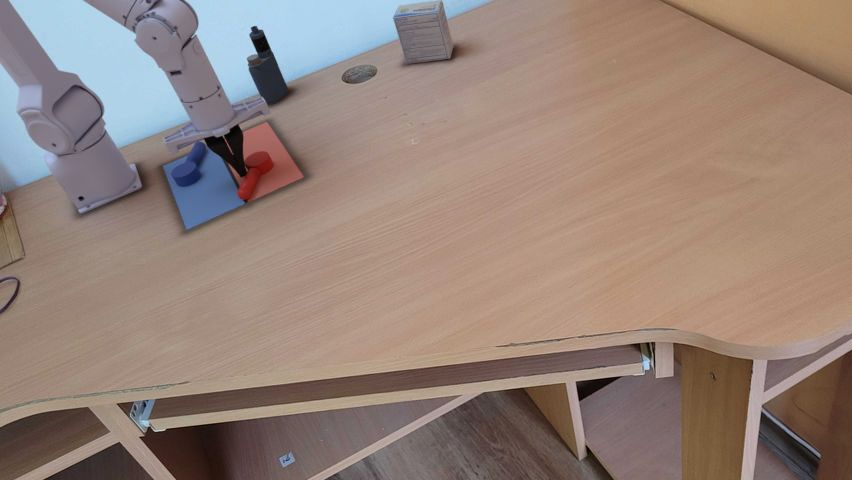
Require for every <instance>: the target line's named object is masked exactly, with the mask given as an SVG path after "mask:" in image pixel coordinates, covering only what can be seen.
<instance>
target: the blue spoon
mask: <svg viewBox="0 0 852 480" xmlns="http://www.w3.org/2000/svg"><path fill="white" fill-rule="evenodd" d="M206 147H207V144H206V143H205V142H203V141H199V142H196V143H194V144H193V146H192V148H191V150H190V151H189V153H188V155H189V156H188V155H187V156H188V157H187V159H186V161H185V163H183V164H180V165H178V166H177V167H175V168H174V169H173V170H172V172H171V175H172V177H173V179H174V180H175V182H176V184H177V185H178V186H180V187H186V186H190V185H192V184H194V183H196V182H197V181H198V180H199V179H200V178H201V173H200V171H199V169H198V167H197V166H198V164H199V162H200V160H201V158H202V156H203V154H204V152H205V150H206Z"/></svg>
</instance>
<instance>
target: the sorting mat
mask: <svg viewBox="0 0 852 480" xmlns="http://www.w3.org/2000/svg"><path fill="white" fill-rule="evenodd" d="M242 132H243V137H244V140H243V157H244V161H245V159H246V158H247V157H248V156H249V155H251V154H253V153H255V152H259V151H265V152H267V153H269V155H270V157H271V159H272V162H273V164H274V165H273V168H272V169H271V170H270V171H269V172H267V173H265V174H263V175H260V177H259V179H258V181H257V184H256V186H255V188H254V190H253V192H252V194H251V196H250V198H249V199H247V200H242V199H240V198H239V197H238V194H237V193H238V190H239V188H240V186H241V184H242V182H243V180H244V178H245V176H244V177H240V176H239V174H238V173H237V172H236V171H235V169H234V168H233V167H232V166H231V165H230V164H229V163H227V162H226V161H225V160H224V159H223V158H221V157H220V156H219V155H217V154H215V153H214V152H212V151H211V150H210V149H209V148H208V146H206V150H205V152H204V154H203V156H202V158H201V160H200V162H199V164H198V166H197V167H198V169H199V171H200V173H201V178H200V179H199V180H198V181H197V182H196V183H194V184H192V185H190V186H186V187H180V186H178V185H177V184H176V182H175V180H174V179H173V177H172V175H171V172H172V170H173V169H174V168H175V167H177V166H178V165H180V164H183V163H185V161H186V159H187V157H188V156H189V154H188V155H185V156H183V157H181V158H178V159H176V160H173V161H171V162H169V163H167V164H164V165H162V168H163V171H164V174H165V176H166V178H167V181H168V184H169V187H170V189H171V192H172V194H173V197H174V200H175V203H176V205H177V208H178V210H179V213H180V215H181V218H182V221H183V224H184V226H185V230H187V231H189V230H190V229H192V228H195V227H197V226H200V225H201V224H204V223H205V222H208V221H210V220H213V219H215V218H217V217H220V216H221V215H225V214H226V213H228V212H230V211H232V210H234V209H237V208H239V207H241V206H243V205H246V204H248V203H250V202H253V201H255V200H257V199H259V198H261V197H263V196H265V195H268V194H270V193H272V192H274V191H277V190H279V189H281V188H283V187H286V186H287V185H290V184H292V183H294V182H296V181H299V180H301V179H303V178H305V177H304V174H302V171H301V170H300V169H299V167H298V166H297V164H296V163H295V161H294V159H293V158H292V157H291V155H290V154H289V152H288V151H287V149H286V148H285V146H284V144H283V143H282V142H281V140H280V138H279V137H278V136H277V134H276V133H275V131H274V129H273V128H272V127H271V125H270V124H269V122H268V121H265V122H262V123H260V124H258V125H256V126H253V127H251V128H249V129H247V130H244V131H242ZM224 139H225V138H224ZM225 141H226V139H225ZM226 143H227V141H226ZM227 145H228V143H227ZM228 147H229V145H228ZM229 149H230V147H229ZM230 151H231V149H230ZM231 153H232V151H231ZM232 154H233V153H232ZM245 167H246V166H245ZM246 171H247V172H248V170H247V168H246Z"/></svg>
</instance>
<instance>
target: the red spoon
mask: <svg viewBox="0 0 852 480" xmlns="http://www.w3.org/2000/svg"><path fill="white" fill-rule="evenodd" d="M244 163H245V166H246V168H247V170H248V172H247V174H246V176H245V178H244V180H243V182H242V184H241V186H240V188H239V190H238V193H237V194H238V197H239V198H240V199H242V200H247V199H249V198H250V196H251V194H252V192H253V190H254V188H255V186H256V184H257V181H258V179H259V177H260V175H263V174H265V173H267V172H269V171H270V170H271V169H272V168H273V165H274V164H273V162H272V159H271V157H270V155H269V153H267V152H265V151H259V152H255V153H253V154H251V155H249V156H248V157H247V158H246V159H245V161H244Z"/></svg>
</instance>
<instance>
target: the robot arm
mask: <svg viewBox="0 0 852 480" xmlns="http://www.w3.org/2000/svg"><path fill="white" fill-rule="evenodd" d="M82 1H83V2H84V3H86V4H88V5H89V6H91V7H93V8H94V9H96V10H97V11H98V12H100V13H102V14H103V15H105V16H106V17H108V18H110V19H112V20H113V21H114V22H116V23H118V24H119V25H120V26H122V27H124V28H125V29H127V30H129V31H130V32H132V33H133V34H135V38H134V39H133V41H134V42H135V45H137V46H138V48H139V49H140V50H141V51H143V52H144V53H145V54H147V55H148V56H150V57H151V58H152V59H153V60H154V62H155V63H156V65H157V67H158V68H159V69H161V71H163V72H164V75H165V76H166V78H167V80H168V81H169V83H170V86H171V87H172V89H173V90H174V92H175V94H176V96H177V98H178V99H179V102H180V103H181V106H182V107H183V109H184V110H185V112H186V114H187V116H188V118H189V120H190V122H189V123H187V124H185V125H183V126H182V127H180V128H179V129H177V130H175V131H173V132H172V133H170V134H168V135H166V136H163V137H162V140H163V143H164V145H165V146H166V148H167V150H168V152H169V153H170V155H171V156H173V155H176V154H178V153H179V152H180V150H182V149H184V148H187V147H189V146H191V145H194V144H195V143H196V142H199V141H200V142H202V141H204V144H205V145H206V147H208V148H209V149H210V150H211V151H212V152H214V153H215V154H217V155H219V156H220V157H221V158H223V159H224V160H225V161H226V162H227V163H229V164H230V165H231V166H232V167H233V168H234V169H235V171H236V172H237V173H238V174H239V176H240V177H244V176H246V174H247V171H246V167H245V163H244V157H243V140H244V137H243V132H244V131H243V130H242V129H241V127H240V125H242V124H244V123H246V122H249V121H251V120H253V119H256V118H258V117H260V116H264V117H265V116H268V115H270V114H272V112H271V110H270V108H269V104H267V103H266V101H265V100H264V98H263V97H261V96H259V97H256V98H255V99H251V100H247V101H242V102H239V103H235V104H232V103H231V102H230V99H229V98H228V95H227V93H226V92H225V90H224V87H223V85H222V83H221V81H220V79H219V77H218V75H217V73H216V71H215V69H214V67H213V65H212V63H211V61H210V60H209V57H208V55H207V53H206V51H205V49H204V46H203V45H202V43H201V41H200V38H199V37H198V35H197V34H196V32H197V31H198V28H199V25H200V24H199V17H198V14H197V12H196V10H195V9H194V8H193V6H192V5H191V4H190V3H189V2H188V0H187V1H186V0H82ZM0 65H1V66H2V68H3V69H4V70H5V72H6V73H7V74H8V75H9V77H10V78H11V79H12V80H13V82H14V83H15V84H16V86H17V87H18V94H17V95H18V96H17V103H16V113H17V115H18V116H19V117H20V119H21V120H22V122H23V123H24V126H25V130H26V133H27V135H28V137H29V138H30V139H31V141H33V143H35V144H36V145H37V146H38V147H39V148H41V149H43V150H44V151H46V152H45V153H44V154H43V159H44V162H45V164H46V166H47V168H48V170H49V171H50V173H51V175H52V177H53V178H54V179H55V181H56V182H57V183H58V185H59V187H61V188H62V190H63V191H64V192H65V194H66V195H67V197H68V198H69V199H70V201H71V202H72V203H73V204H74V206H75V207H76V208H77V211H78V213H79V214H82V215H83V214H85V213H87V212H90V211H93V210H94V209H96V208H99V207H102V206H104V205H106V204H108V203H111V202H113V201H115V200H118V199H120V198H123V197H125V196H128V195H129V194H131V193H134V192H137V191H139V190H141V189H142V188H143V184H142V181H141V177H140V175H139V172H138V168H137V165H136V164H135V163H130V164H129V163H128V162H127V160H126V159H125V156H123V153H121V151H120V149H119V147H118V146H117V145H116V143H115V141H114V140H113V138H112V137H111V136H110V133H109V132H108V130H106V127H105V126H106V125H107V123H106V121H105V120H104V117H103V116H104V115H105V105H104V103H103V101H102V99H101V98H100V96H99V95H98V94H97V93H96V92H95V91H93V90H92V89H91V88H89V86H87V85H86V84H85V83H84V82H83V80H82V79H81V78H80V76H79V75H78V74H77V73H75V72H70V71H64V70H60V69H58V67H57V66H56V65H55V63H54V62H53V60H52V59H51V58H50V56H49V54H48V53H47V52H46V51H45V49H44V47H43V46H42V45H41V43H40V42H39V40H38V39H37V38H36V36H35V35H34V33H33V32H32V30H31V29H30V28H29V26H28V25H27V23H26V22H25V20H23V18H22V17H21V14H19V12H18V11H17V9H16V8H15V7H14V6H13V3H11V1H10V0H0ZM225 139H226V141H227V143H228V145H229V147H230V149H231V151H232V153H233V154H232V153H231V151H230V149H229V147H228V145H227V143H226V141H225Z"/></svg>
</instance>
